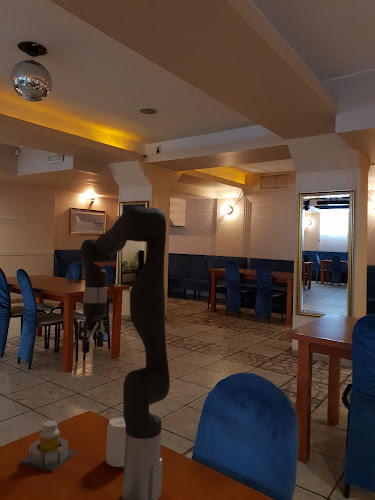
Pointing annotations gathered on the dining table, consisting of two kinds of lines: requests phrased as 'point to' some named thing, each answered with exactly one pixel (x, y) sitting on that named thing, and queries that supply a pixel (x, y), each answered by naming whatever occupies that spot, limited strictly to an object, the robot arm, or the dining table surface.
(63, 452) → the rosette collar
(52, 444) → the supplement bottle
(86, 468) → the dining table surface
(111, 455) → the beverage can
